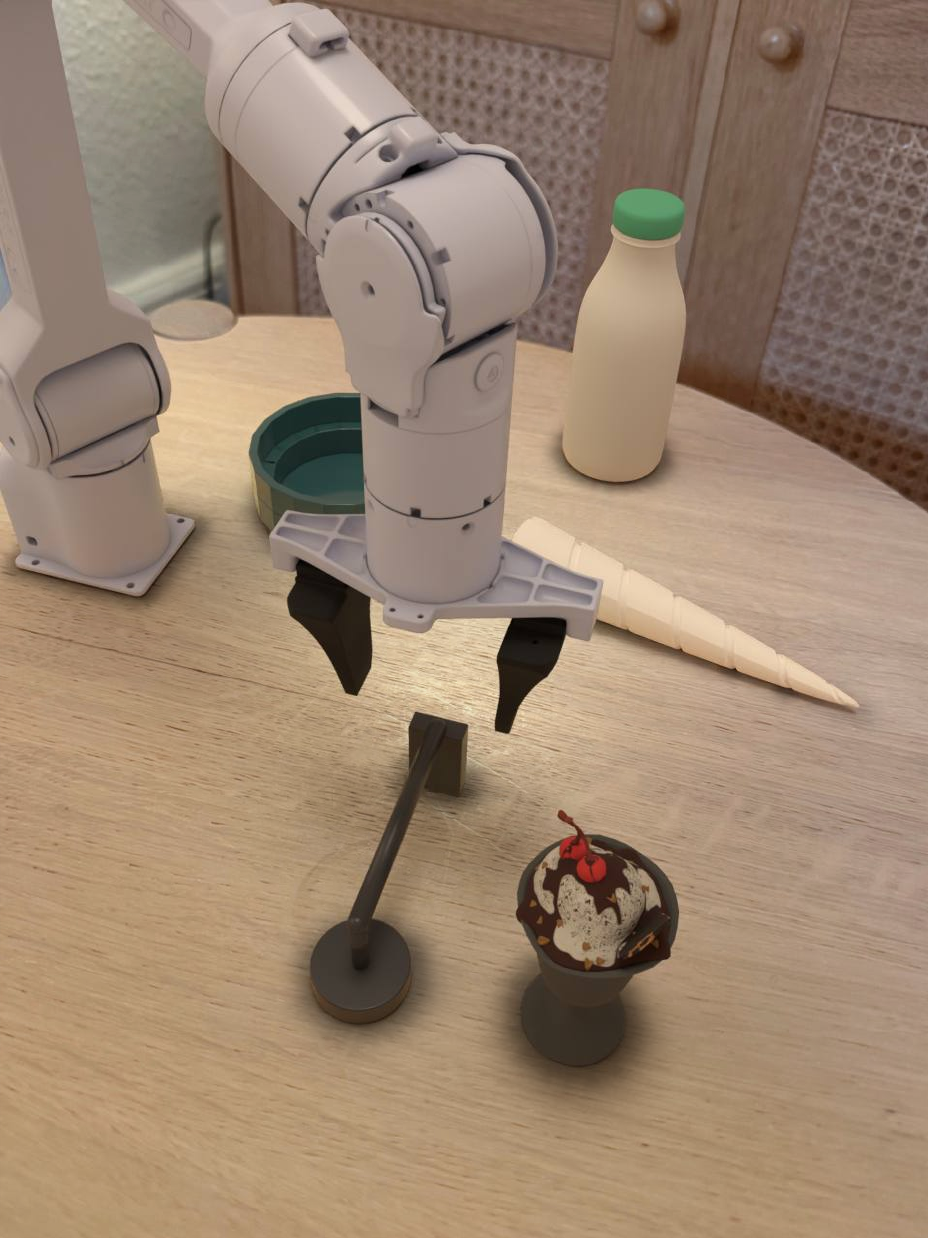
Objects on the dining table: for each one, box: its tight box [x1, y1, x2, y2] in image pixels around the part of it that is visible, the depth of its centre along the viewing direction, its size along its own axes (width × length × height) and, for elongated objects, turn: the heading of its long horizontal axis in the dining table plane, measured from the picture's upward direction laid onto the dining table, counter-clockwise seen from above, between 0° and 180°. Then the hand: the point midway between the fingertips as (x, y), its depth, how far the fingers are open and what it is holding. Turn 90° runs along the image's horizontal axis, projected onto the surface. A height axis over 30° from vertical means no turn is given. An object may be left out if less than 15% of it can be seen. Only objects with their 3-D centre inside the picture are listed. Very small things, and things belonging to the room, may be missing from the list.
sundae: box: [515, 809, 680, 1066], centre depth 46 cm, size 7×7×15 cm
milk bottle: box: [561, 188, 687, 483], centre depth 77 cm, size 8×8×20 cm
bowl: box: [248, 392, 365, 532], centre depth 77 cm, size 13×13×5 cm
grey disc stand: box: [309, 711, 469, 1024], centre depth 54 cm, size 15×5×6 cm, turn 164°
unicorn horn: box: [511, 516, 861, 708], centre depth 67 cm, size 5×24×5 cm, turn 57°
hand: (431, 698), depth 53 cm, fingers open, 7 cm apart
